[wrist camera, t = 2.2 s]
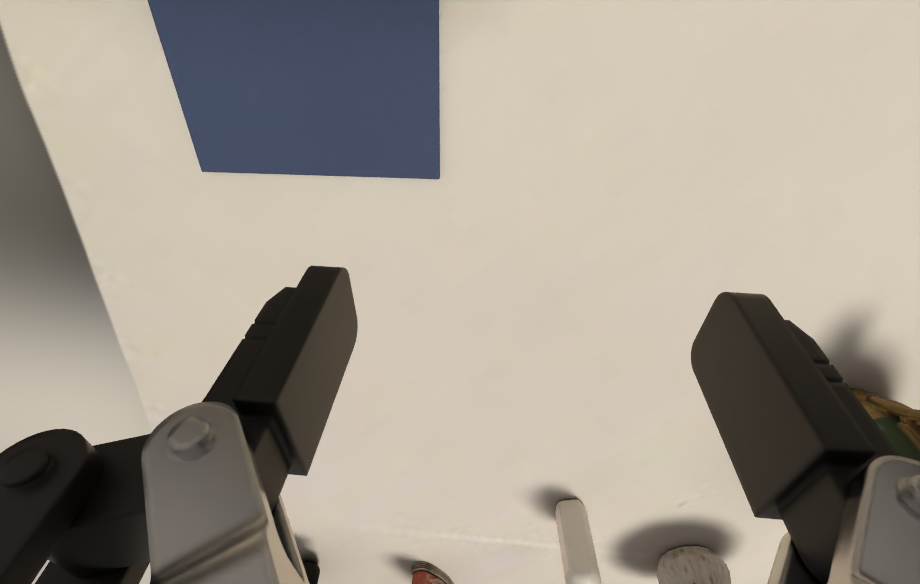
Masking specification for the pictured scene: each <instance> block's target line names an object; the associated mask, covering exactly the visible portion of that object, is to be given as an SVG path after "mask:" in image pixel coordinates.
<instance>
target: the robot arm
mask: <svg viewBox="0 0 920 584" xmlns="http://www.w3.org/2000/svg"><path fill="white" fill-rule="evenodd" d="M356 337H357V315H356V310H355V305H354V299H353V294H352V289H351V283H350V278H349V274H348V271H347V269H346V268H340V267H324V266H310V267H309V268H308V269H307V270H306V272H305V274H304V276H303V277H302V279H301V281H300V282H299V284H298V286H297V288H292V287H285V288H284V289H283V290H281V291H280V292H279V293H277V294H276V295H275V296H274V297H272V298H271V299H270V300H268V301H267V302H266V303H265V305H264V307H263V308H262V310H261V311H260V313H259V314H258V316H257V317H256V319H255V324H252V325H251V327H250V328H249V330H248V331H247V333H246V335H245V339H242V341H241V342H240V344H239V345H238V347H237V349H236V350H235V352H234V353H233V355H232V356H231V358H230V359H229V361H228V363H227V364H226V366H225V367H224V369H223V370H222V372H221V373H220V375H219V377H218V378H217V380H216V381H215V383H214V384H213V386H212V387H211V389H210V391H209V392H208V394H207V395H206V397H205V398H204V399H203V401H202V402H201V403H197V404H193V405H190V406H187V407H185V408H183V409H180V410H178V411H177V412H175V413H173V414H172V415H170V416H169V417H167V418H166V419H165V420H163V421H162V422H161V423H160V424H159V425H158V426H157V427H156V428H155V429H154V430H153V432H152V433H151V434H148V435H143V436H139V437H134V438H129V439H124V440H119V441H114V442H109V443H105V444H100V445H95V446H92V445H91V444H90V443H88V441H87V440H86V439H85V438H84V437H83V436H82V435H81V434H79V433H77V432H76V431H73V430H68V429H54V430H49V431H45V432H41V433H38V434H35V435H32V436H30V437H27V438H25V439H23V440H21V441H19V442H17V443H16V444H14V445H12V446H11V447H9V448H7V449H6V450H5V451H3V452H2V453H0V584H31V583H32V582H33V580H34V579H35V577H36V576H37V574H38V573H39V571H40V570H41V568H42V567H43V565H44V564H45V562H46V561H47V560H50V562H49V563H48V565H47V566H46V568H45V570H44V571H43V572H42V574H41V576H40V577H39V578H38V580H37V581H36V583H35V584H139V582H140V580H141V579H142V577H143V574H144V572H145V570H146V569H147V567H148V565H149V563H150V565H151V581H150V584H309V581H308V578H307V575H306V572H305V569H304V566H303V563H302V560H301V556H300V553H299V550H298V547H297V544H296V541H295V538H294V535H293V532H292V529H291V526H290V522H289V519H288V516H287V513H286V510H285V507H284V504H283V501H282V498H281V495H280V492H281V490H282V487H283V485H284V482H285V480H286V477H287V475H288V474H293V475H304V476H307V474H308V471H309V469H310V466H311V463H312V460H313V458H314V455H315V452H316V449H317V447H318V444H319V441H320V438H321V436H322V433H323V430H324V427H325V425H326V422H327V419H328V416H329V414H330V411H331V408H332V405H333V403H334V400H335V397H336V395H337V392H338V389H339V386H340V384H341V381H342V378H343V375H344V373H345V370H346V367H347V364H348V362H349V359H350V356H351V353H352V351H353V348H354V345H355V342H356ZM691 363H692V368H693V371H694V373H695V376H696V378H697V380H698V383H699V385H700V387H701V390H702V392H703V395H704V397H705V399H706V402H707V404H708V406H709V409H710V411H711V414H712V416H713V418H714V421H715V423H716V425H717V428H718V430H719V433H720V435H721V437H722V440H723V442H724V444H725V447H726V449H727V452H728V454H729V456H730V459H731V461H732V463H733V466H734V468H735V471H736V473H737V475H738V478H739V480H740V482H741V485H742V487H743V490H744V492H745V494H746V497H747V499H748V501H749V504H750V506H751V509H752V511H753V513H754V516H755V517H758V518H770V519H781V520H783V521H784V523H785V525H786V527H787V530H788V533H786V534H785V535H784V536H783V538H782V539H781V542H780V544H779V548H778V551H777V554H776V557H775V561H774V564H773V567H772V570H771V574H770V577H769V580H768V583H767V584H920V462H919V461H916V460H913V459H910V458H906V457H902V456H900V455H899V454H898V452H897V451H896V450H895V448H894V447H893V446H892V444H891V443H890V441H889V440H888V439H887V437H886V436H885V435H884V433H883V432H882V431H881V429H880V428H879V427H878V425H877V424H876V423H875V421H874V420H873V419H872V417H871V416H870V415H869V413H868V412H867V411H866V409H865V408H864V407H863V405H862V404H861V403H860V401H859V400H858V398H857V397H856V396H855V394H854V393H853V392H852V390H851V389H850V388H849V386H848V385H847V384H846V383H843V382H842V380H843V378H842V377H841V376H840V374H839V373H838V372H837V370H836V369H835V368H834V366H833V365H829V360H828V358H827V357H826V355H825V354H824V353H823V351H822V350H821V349H820V347H819V346H818V345H817V343H816V342H815V341H814V339H812V338H811V337H810V336H809V335H807V334H806V333H805V332H803V331H802V330H801V329H800V328H798V327H797V326H796V325H795V324H793V323H792V322H791V321H789V320H784V319H783V317H782V316H781V315H780V313H779V312H778V310H777V309H776V308H775V306H774V305H773V303H772V302H771V300H770V299H769V298H768V297H767V296H765V295H763V294H749V293H733V292H723V293H721V294H720V295H718V297H717V298H716V299H715V301H714V303H713V305H712V307H711V309H710V311H709V313H708V315H707V317H706V319H705V321H704V323H703V324H702V326H701V328H700V330H699V332H698V334H697V336H696V338H695V340H694V342H693V345H692V350H691Z"/></svg>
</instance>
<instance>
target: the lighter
mask: <svg viewBox="0 0 920 584" xmlns="http://www.w3.org/2000/svg"><path fill="white" fill-rule="evenodd" d="M412 575H413V579H412V584H454V583H453V582H452V580H451V579H450V578H449V577H448V576H447V575H446V574H445V573H444V572H442V571H441V570H440V569H438V568H437V567H435V566H433V565H431V564H430V563H427V562H417V563H415V564H413V566H412Z"/></svg>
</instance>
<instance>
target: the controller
mask: <svg viewBox="0 0 920 584" xmlns="http://www.w3.org/2000/svg"><path fill="white" fill-rule="evenodd" d="M302 563H303V566H304V569H305V572H306V575H307V578H308V581H309V584H317V583H318V578H319V573H320V569H319V567H318V566H317V565H316V564H314V563H310V562H305V561H302Z"/></svg>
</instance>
